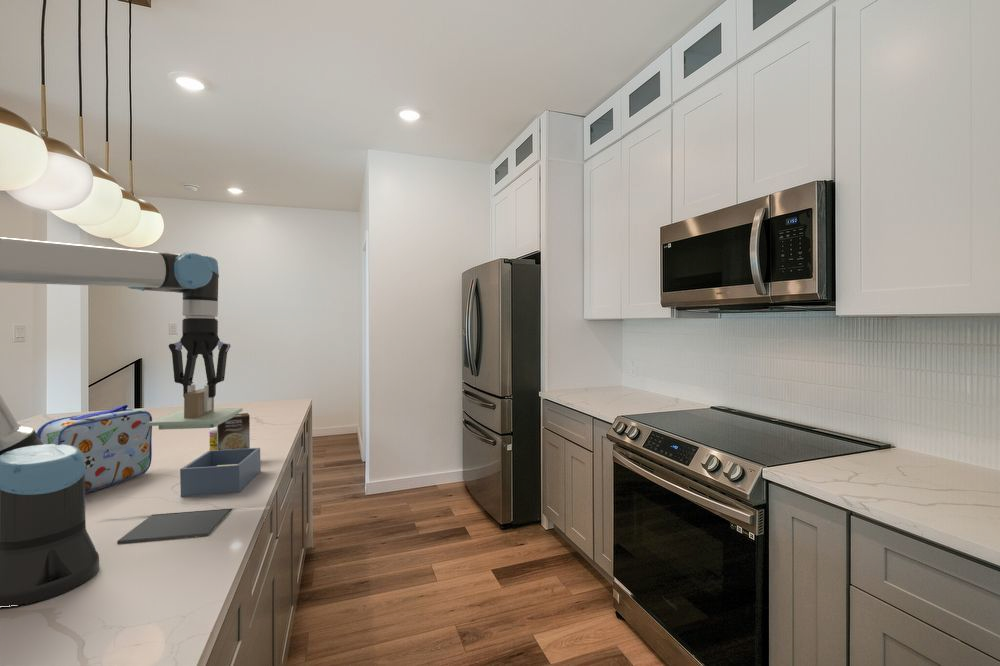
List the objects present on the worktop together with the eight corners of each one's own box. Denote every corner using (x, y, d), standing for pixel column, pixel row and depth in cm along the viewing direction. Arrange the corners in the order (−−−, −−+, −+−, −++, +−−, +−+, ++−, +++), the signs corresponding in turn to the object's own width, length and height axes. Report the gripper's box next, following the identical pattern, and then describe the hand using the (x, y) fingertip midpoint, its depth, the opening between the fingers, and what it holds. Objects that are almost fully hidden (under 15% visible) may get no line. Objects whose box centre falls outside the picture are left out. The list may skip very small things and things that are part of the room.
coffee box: (217, 469, 144) (216, 418, 144) (216, 464, 150) (215, 415, 149) (250, 464, 149) (249, 415, 149) (248, 459, 155) (248, 412, 154)
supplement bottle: (205, 457, 158) (204, 420, 157) (221, 452, 164) (221, 416, 164) (220, 459, 156) (219, 421, 155) (236, 453, 162) (236, 417, 162)
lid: (217, 428, 109) (217, 395, 109) (147, 431, 106) (148, 396, 106) (242, 415, 127) (242, 386, 127) (183, 416, 124) (183, 387, 124)
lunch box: (133, 469, 145) (132, 399, 145) (160, 471, 143) (159, 400, 143) (28, 502, 118) (26, 417, 118) (60, 505, 116) (58, 418, 116)
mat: (207, 535, 99) (207, 533, 99) (117, 543, 96) (117, 540, 96) (243, 497, 121) (243, 495, 121) (170, 503, 117) (170, 500, 117)
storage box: (239, 495, 122) (239, 465, 122) (180, 499, 120) (180, 469, 120) (260, 473, 140) (260, 447, 140) (209, 477, 137) (209, 450, 137)
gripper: (240, 318, 122) (239, 407, 122) (171, 317, 118) (170, 409, 118) (230, 317, 115) (229, 412, 115) (156, 316, 111) (155, 414, 111)
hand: (199, 410), depth 116 cm, fingers closed on lid, 3 cm apart
